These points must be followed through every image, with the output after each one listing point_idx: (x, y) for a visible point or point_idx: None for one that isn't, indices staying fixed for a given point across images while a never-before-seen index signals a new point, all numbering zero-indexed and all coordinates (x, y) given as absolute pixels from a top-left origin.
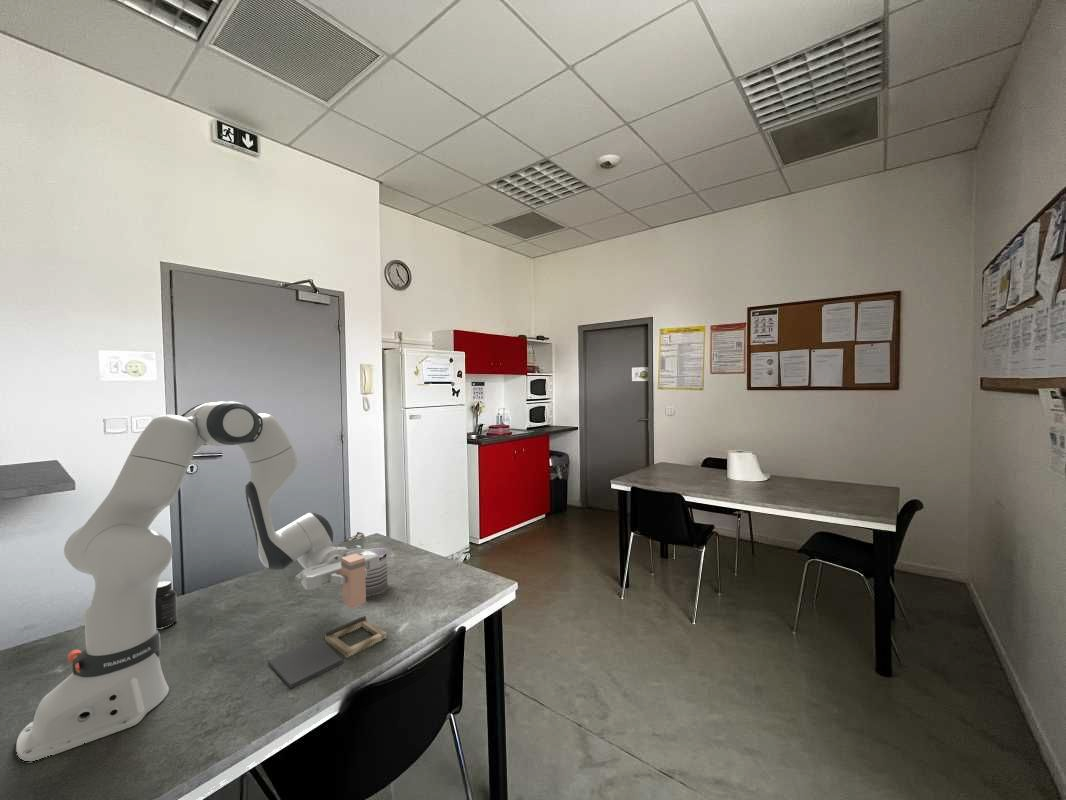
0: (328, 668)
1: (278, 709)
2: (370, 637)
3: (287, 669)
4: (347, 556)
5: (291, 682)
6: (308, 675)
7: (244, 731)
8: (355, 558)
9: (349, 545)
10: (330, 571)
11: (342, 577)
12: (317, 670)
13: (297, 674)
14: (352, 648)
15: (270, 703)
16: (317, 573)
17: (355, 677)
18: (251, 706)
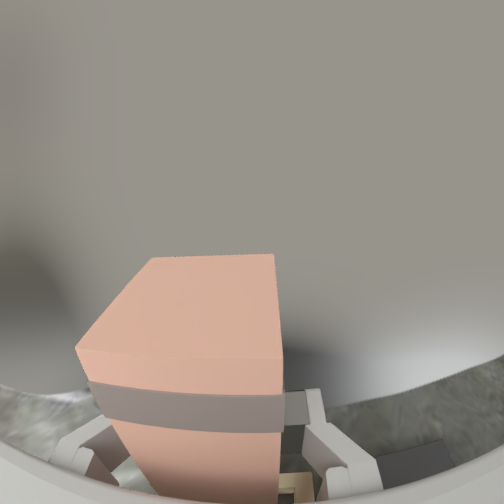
0: None
1: (453, 402)
2: None
3: None
4: (197, 343)
5: (440, 444)
6: (409, 451)
7: (486, 383)
8: (194, 275)
9: None
10: (384, 490)
11: (313, 391)
12: (389, 456)
13: (429, 465)
14: (291, 476)
15: (467, 421)
16: (499, 477)
17: None
18: (492, 426)
